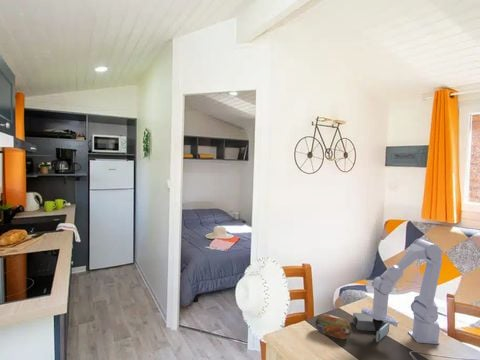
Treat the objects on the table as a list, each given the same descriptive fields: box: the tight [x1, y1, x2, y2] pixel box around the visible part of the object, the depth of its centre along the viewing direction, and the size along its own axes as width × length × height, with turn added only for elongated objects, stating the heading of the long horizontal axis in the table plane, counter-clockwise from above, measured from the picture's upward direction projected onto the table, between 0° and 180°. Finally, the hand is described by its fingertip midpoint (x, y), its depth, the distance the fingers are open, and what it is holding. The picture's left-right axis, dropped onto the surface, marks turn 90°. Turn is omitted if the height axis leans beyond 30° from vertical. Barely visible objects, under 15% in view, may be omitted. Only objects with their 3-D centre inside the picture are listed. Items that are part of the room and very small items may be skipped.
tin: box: [315, 313, 352, 340], centre depth 128 cm, size 15×3×8 cm, turn 62°
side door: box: [375, 323, 390, 343], centre depth 128 cm, size 11×1×4 cm, turn 132°
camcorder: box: [351, 312, 390, 333], centre depth 136 cm, size 15×7×5 cm, turn 88°
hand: (377, 334), depth 127 cm, fingers closed, pressing on side door
